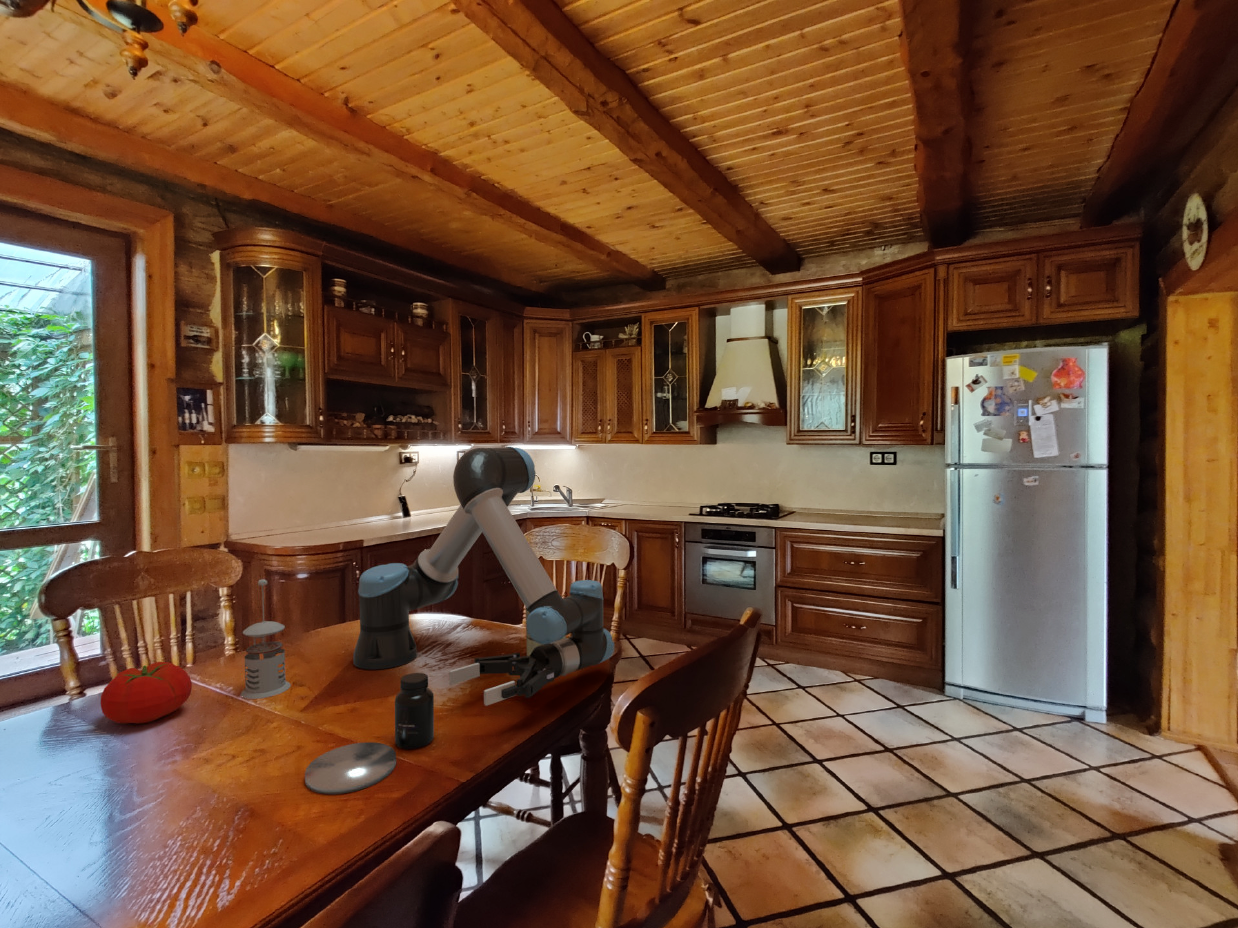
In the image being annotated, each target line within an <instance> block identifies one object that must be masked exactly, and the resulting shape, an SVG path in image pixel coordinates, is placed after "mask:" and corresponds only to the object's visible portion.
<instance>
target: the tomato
mask: <svg viewBox="0 0 1238 928" xmlns="http://www.w3.org/2000/svg"><path fill="white" fill-rule="evenodd" d="M192 686H193V682H192V679H191V677H190V675H189V674H188V673H187V672H186V670H184V669H183V668H181V667H180V666H179V665H176V664H174V663H173V662H167V661H157V662H153V663H151V664H148V665H143V666H142V668H141V669H137V668H135V667H131V668H127V669H124V670H123V671H121V672H118V674H116V675H115V677H113V679H112V680H110V681H109V683H107V685H106V686H104V688H103V691H102V692H101V695H100V707H101V712H102V714H103V715H104V717H105V718H107V719H108V720H111V721H112V722H115V723H116V724H122V725H123V724H146V723H147V724H148V723H151V722H153V721H156V720H158V719H160V718H163V717H165V716H167V715H169V714H171V713H173V712H175V711H176V710H178V709H179V708H180V707H182V706H183V705H184V704H185V702H187V701H188V700H189V697H190V695H191V693H192V688H193V687H192Z"/></svg>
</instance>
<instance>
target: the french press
mask: <svg viewBox="0 0 1238 928" xmlns="http://www.w3.org/2000/svg"><path fill="white" fill-rule="evenodd" d="M266 585H268V580H266V579H264V578H263V579H259V580H258V582H257V586H261V602H262V621H261V622H257V623H253V624H252V625H250V626H248V627H246V629H244V630H243V631H242V634H243V635H244V636H246V637H251V638H253V645H250V646H248V647H247V648H246V650H245V653H247V654H246V655H244V676H245V677H244V682H245V684H244V685H245V687H244V688H243V690H242V691H241V692H240V697H242V696H243V697H242V698H244V699H248V700H249V699H250V700H252V699H253V700H254V699H255V700H256V699H257V700H258V699H264V698H269V697H273V696H278V695H280V694H282V693H284V692H286V691H287V690H289V689H290V688H291V683H290V682H289V681H287V680H286V662H285V661H286V657H285V656H286V652H285V649H284V648H283V645H284V644H283V643H282V642H280V641H267V642H266V637H268V636H271V635H275V634H278V633H281V632H282V631H284V630H285V628H286V627H285V624H282V623H280V622H277V621H272V620H271V621H268V620H267V621H266V620H265V605H264V603H265V602H264V586H266ZM260 638H261V642H259V643H256V639H260ZM260 655H262V656H263V658H262V659H261V658H260ZM279 665H282V666H279ZM246 667H247V668H246ZM282 670H283V671H282ZM279 671H280V672H279Z"/></svg>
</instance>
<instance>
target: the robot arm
mask: <svg viewBox="0 0 1238 928" xmlns="http://www.w3.org/2000/svg"><path fill="white" fill-rule="evenodd" d="M536 474H537V473H536V469H535V462H534V459H533V458H532V456H531V455H530V454H529V453H528V452H527V451H526V450H525V449H523V448H520V447H514V446H506V447H477V448H473V449H470V450H468V451H466V452H465V453H464V454H462V455H461V457H459V459H458V461H457V462H456V464H455V466H454V470H453V475H452V478H453V479H452V480H453V481H452V482H453V487H454V492H455V495H456V498H457V499H458V502H459V504H460V505H459V506H458V508H457V509H456V511H455V512H454V514H453V515H452V516H451V518H450V519H449V521H448V522H447V524H446V526H445V527H444V529H443V530H442V531H441V532H440V534H439V536H438V537H437V538H436V540H435V541H434V543H433V545H432V546H431V547H430V548H428V549H424V550H422V552H420V553H419V555H418V556H417V558H416V559H415V560H414V562H413V563H412V564H411V565H407V564H404V563H401V562H400V563H399V562H392V563H387V564H380V565H377V566H374V567H373V566H372V567H370V568H369V569H367V570H365V571H363V572H362V573H361V575H360V577H359V582H358V583H359V584H358V590H357V593H358V595H359V597H358V599H359V600H358V601H359V626H360V627H359V630H360V631H359V634H358V637H357V642H356V644H355V648H354V652H353V655H352V658H353V665H354V666H355V667H356V668H358V669H359V668H360V669H363V670H384V669H389V668H395V667H399V666H402V665H405V664H406V665H407V664H409V663H410V662H412V661H414V660H415V659H417V656H418V650H417V649H418V647H417V644H416V641H415V638H414V636H413V633H412V631H411V628H410V619H409V618H410V612H412V611H416V610H418V609H421V608H424V607H427V606H430V605H435V604H440V603H442V602H444V601H445V600H447V599H449V598H450V597H452V596H453V595H454V593H455V591H456V590H457V588H458V586H459V580H458V579H459V565H460V564H461V562H462V561H463V559H465V557H466V555H467V554H468V552H469V551H470V550H471V548H472V547H473V545H474V544H475V543H476V541H477V540H478V539H479V537H480V536H481V534H482V535H484V537H485V539H486V542H487V543H488V545H489V546H490V548H491V549H492V551H493V553H494V554H495V557H496V559H497V560H498V561H499V564H500V565H501V566H502V569H503V570H504V572H505V574H506V576H507V577H508V579H509V580H510V582H511V583H512V585H513V588H514V589H515V591H516V592H517V594H518V596H519V598H520V600H521V601H522V603H523V604H524V607H525V606H526V608H527V610H528V611H529V613H530V614H529V616H528V618H527V622H526V621H525V626H526V625H527V629H528V630H527V631H528V634H529V635H530V637H531V638H532V639H533V640H534V641H535V642H537V643H539V644H544V645H541V646H537V647H535V648H534V649H533V651H532V653H531V655H530V656H527V655H524V656H523V655H522V656H521V653H520V652H514V653H509V654H501V655H492V656H484V657H475V658H474V663H472V664H469V665H465V666H461V667H458V668H454V669H452V670H449V672H448V673H449V685H451V686H453V685H456V684H460V683H462V682H466V681H469V680H472V679H475V678H480V676H481V675H489V674H491V675H492V674H508V675H509V676H519V678H516V681H514V680H511V681H509V682H505V683H502V684H499V685H497V686H494V687H490V688H486V689H485V690H483V705H484V706H487V707H488V706H490V705H492V704H495V703H498V702H501V701H504V700H507V699H510V698H512V697H515V696H519V697H521V696H524V697H525V698H526V699H529V698H531V697H532V696H534V695H535V694H536V693H537V692H538V691H540V690H541V689H543V687H545V686H546V685H547V684H549V683H551V682H553V681H555V679H558V678H559V677H562V676H563V677H566V676H567V674H571V673H574V672H576V671H579V670H583V669H585V668H588V667H592V666H596V665H597V666H598V665H599V664H601V663H603V662H605V661H607V660H609V659H610V658H611V657H612V655H614V650H615V642H614V641H613V636H612V634H611V632H610V631H609V630H607V629H606V628H604V600H605V599H604V593H603V585H602V584H601V582H599V581H597V580H592V579H591V580H590V579H581V580H576V581H574V582H572V583H571V585H570V588H569V592H568V593H569V595H568V596H565V597H563V598H562V596H561V594H560V592H559V591H558V589H557V588H556V586H555V584H554V582H553V581H552V579H551V578H550V576H549V574H548V572H547V571H546V570H545V568H544V566H543V565H542V563H541V561H540V559H539V557H538V555H536V552H535V551H534V550H533V549H534V548H532V545H530V542H529V540H528V539H527V538H526V536H525V534H524V533H523V531H522V529H521V528H520V526H519V523H518V522H517V521H516V520H515V518H514V516H513V514H512V513H511V511H510V509H509V508H508V507H509V506H510V504H511V503H512V501H513V500H514V498H515V497H516V496H517V495H518V494H524V493H525V492H527V491H529V490H530V489H531V488H532V487H533V485H534V483H535V480H536ZM526 608H525V609H526ZM568 635H570V636H568ZM564 636H566V638H564V639H562V638H563V637H564ZM567 636H568V637H567Z"/></svg>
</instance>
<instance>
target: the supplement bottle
mask: <svg viewBox="0 0 1238 928" xmlns="http://www.w3.org/2000/svg"><path fill="white" fill-rule="evenodd" d="M399 689H400V691H399V692H398V693H397V694H396V696H395V698H394V740H395V745H396V746H397V747H398V748H399V749H402V750H417V749H420V748H423V747H426V746H427V745H429V744H430V743H431V742H432V741H433V740H434V735H435V734H434V733H435V729H434V726H435V722H434V721H435V720H434V719H435V717H434V716H435V714H434V713H435V712H434V710H435V709H434V708H435V707H434V705H435V704H434V703H435V698H434V696H435V695H434V693H433V690H432V689H430V688H429V676H428V675H427V674H426V673H423V672H413V673H412V672H411V673H408V674H405V675H403V676H402V677H401V678H400V686H399Z"/></svg>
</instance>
